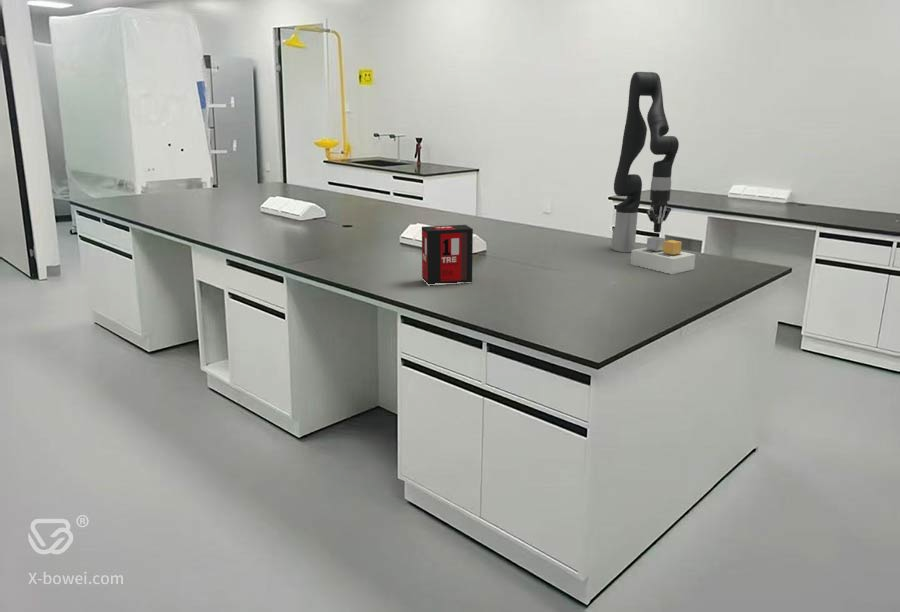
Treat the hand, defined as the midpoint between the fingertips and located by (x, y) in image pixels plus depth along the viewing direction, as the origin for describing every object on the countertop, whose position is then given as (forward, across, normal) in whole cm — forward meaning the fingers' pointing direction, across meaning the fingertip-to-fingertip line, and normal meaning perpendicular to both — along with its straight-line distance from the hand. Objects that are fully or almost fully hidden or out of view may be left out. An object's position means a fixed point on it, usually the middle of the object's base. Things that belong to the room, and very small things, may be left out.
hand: (656, 232), depth 272 cm
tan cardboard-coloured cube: (+7, 0, +8) cm, 11 cm away
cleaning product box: (+14, +84, -26) cm, 89 cm away
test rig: (+14, 0, +4) cm, 14 cm away
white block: (+7, 0, 0) cm, 7 cm away
